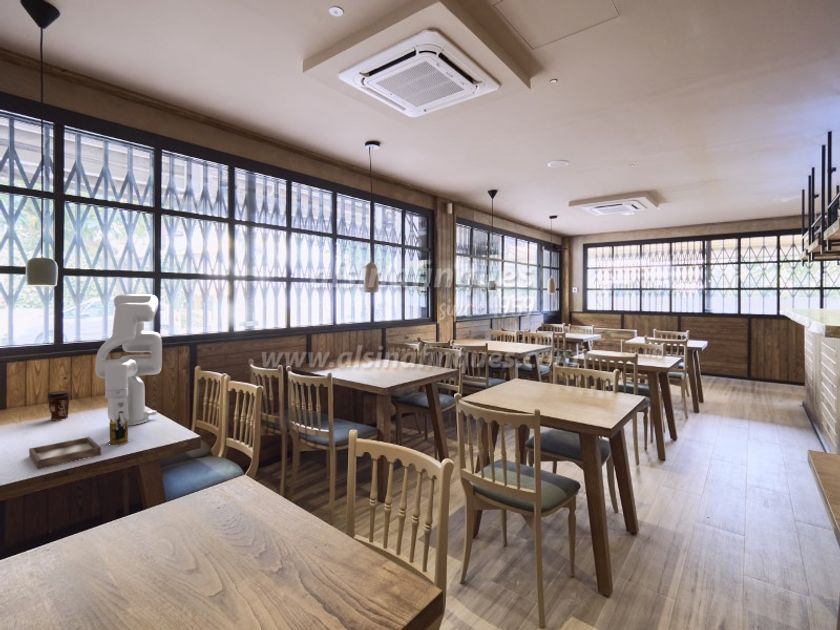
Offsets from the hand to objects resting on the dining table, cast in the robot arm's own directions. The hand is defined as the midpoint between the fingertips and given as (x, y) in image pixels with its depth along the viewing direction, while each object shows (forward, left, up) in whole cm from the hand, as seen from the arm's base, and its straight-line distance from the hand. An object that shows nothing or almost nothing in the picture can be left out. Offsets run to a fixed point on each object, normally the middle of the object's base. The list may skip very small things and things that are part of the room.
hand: (117, 436), depth 174 cm
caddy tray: (+17, +2, -3) cm, 17 cm away
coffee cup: (+9, -57, -3) cm, 58 cm away
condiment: (0, -1, -3) cm, 3 cm away
